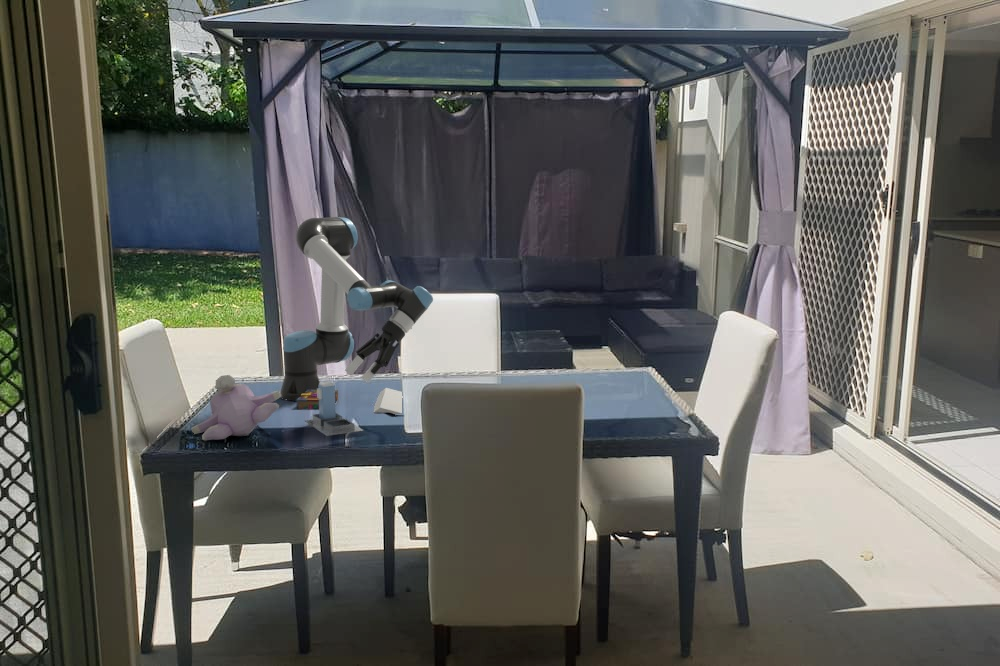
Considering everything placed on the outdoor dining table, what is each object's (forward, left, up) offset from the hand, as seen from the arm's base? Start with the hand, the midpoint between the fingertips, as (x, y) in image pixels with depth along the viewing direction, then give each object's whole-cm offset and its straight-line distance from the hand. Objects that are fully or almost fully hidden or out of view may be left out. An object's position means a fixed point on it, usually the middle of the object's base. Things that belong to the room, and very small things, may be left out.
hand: (355, 376), depth 281 cm
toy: (-10, -36, -15) cm, 40 cm away
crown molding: (-14, +18, -16) cm, 28 cm away
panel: (+4, -10, -15) cm, 18 cm away
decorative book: (-25, -4, -16) cm, 30 cm away
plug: (-1, -10, -14) cm, 17 cm away
